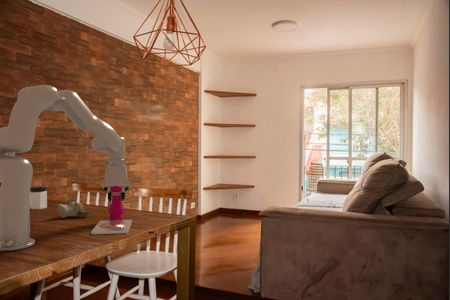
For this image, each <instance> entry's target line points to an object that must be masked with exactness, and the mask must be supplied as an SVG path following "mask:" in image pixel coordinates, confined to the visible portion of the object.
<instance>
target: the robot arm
mask: <svg viewBox="0 0 450 300" xmlns="http://www.w3.org/2000/svg"><path fill="white" fill-rule="evenodd" d="M43 111H44V112H64V114H65V115H66V116H67V117H68V118H69V120H70V121H71V122H72V123H73V124H74V125H75V126H76V127H77V129H80V130H82V131H84V132H87V133H90V134H92V135H95V137H94V138H93V139H91V142H90V145H91V148H92V150H94V151H95V152H97V153H108V158H107V159H106V160H104V162H105V164H107V165H106V167H105V172H104V173H105V174H104V175H105V176H104V180H103V181H102V182H101V183H100V184H99V186H100V187H101V188H102V189H104V191H106V192H107V200H108V202H111V201H112V195H111V192H112V191H111V190H110V187H113V186H119V187H122V190H121V192H122V193H121V202H124V200H125V199H126V192H127V191H128V190H129V189H130V188H131V187H132V186H133V183H132V182H131V181H130V180H129V178H128V169H127V167H128V166H127V164H126V161H125V160H126V139H125V137H123V136H119V134H118V133H117V132H116V130H115V129H114V128H113V127H112V126H111V125H109V124H108V123H107V122H106V121H104V120H102V119H100V118H99V117H97V116H96V115H94V113H93V112H92V111H91V109H90V108H89V107H88V106H87V105H86V103H85V102H84V101H83V99H81V97H80V96H79V95H78V94H77V92H75V91H74V90H71V89H62V90H60V89H59V90H58V89H57V88H56V87H55V86H53V85H49V84H40V85H33V86H26V87H23V88H21V89H20V90H19V91H18V93H17V101H16V102H15V103H14V105H13V107H12V109H11V111H10V112H11V113H10V117H9V121H8V125H7V126H2V127H0V183H1V184H0V252H3V251H4V252H5V251H6V252H7V251H17V250H22V249H26V248H30V247H32V246H33V245H35V244H36V242H35V241H36V239H34V238H31V209H30V187H31V184H32V179H33V174H34V173H33V172H34V168H33V165H32V163H31V162H30V161H29V160H28V159H27V158H24V157H22V156H17V155H16V154H21V153H22V154H23V153H27V152H29V151H30V150H32V147H33V145H34V140H35V135H36V130H37V123H38V119H39V117H40V115H41V113H42V112H43Z"/></svg>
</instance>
